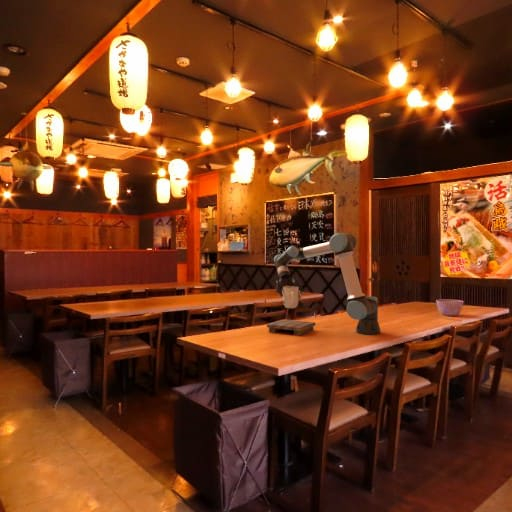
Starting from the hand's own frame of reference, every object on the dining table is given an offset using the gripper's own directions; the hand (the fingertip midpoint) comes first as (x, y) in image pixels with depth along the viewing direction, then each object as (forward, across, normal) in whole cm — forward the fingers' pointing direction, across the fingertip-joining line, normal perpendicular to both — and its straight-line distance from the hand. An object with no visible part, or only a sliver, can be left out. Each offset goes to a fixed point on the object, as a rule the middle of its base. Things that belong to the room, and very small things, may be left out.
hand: (292, 299), depth 275 cm
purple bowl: (+2, -141, -28) cm, 143 cm away
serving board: (+13, 0, -17) cm, 21 cm away
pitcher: (+2, 0, -6) cm, 6 cm away
